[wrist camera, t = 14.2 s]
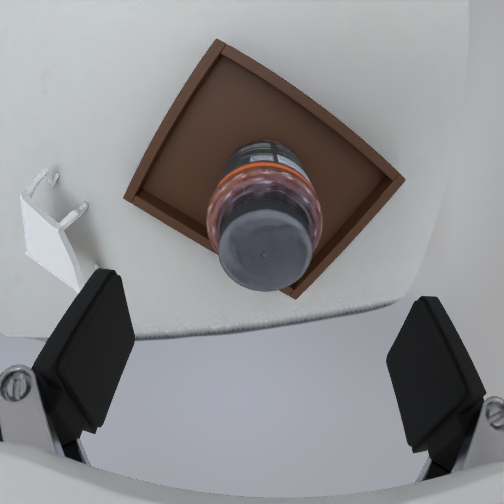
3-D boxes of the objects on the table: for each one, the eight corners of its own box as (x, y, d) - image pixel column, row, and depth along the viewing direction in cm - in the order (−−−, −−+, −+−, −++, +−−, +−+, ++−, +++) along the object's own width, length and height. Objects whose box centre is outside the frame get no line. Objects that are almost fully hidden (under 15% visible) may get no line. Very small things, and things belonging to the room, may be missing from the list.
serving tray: (395, 171, 22) (406, 179, 20) (294, 285, 28) (295, 300, 26) (220, 42, 18) (216, 38, 16) (133, 188, 24) (122, 198, 22)
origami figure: (22, 210, 25) (-6, 233, 21) (59, 157, 22) (26, 175, 18) (95, 291, 30) (75, 321, 26) (142, 253, 27) (123, 285, 23)
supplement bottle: (252, 225, 25) (244, 327, 15) (208, 165, 22) (163, 237, 13) (318, 188, 23) (356, 273, 13) (276, 121, 20) (288, 157, 11)
